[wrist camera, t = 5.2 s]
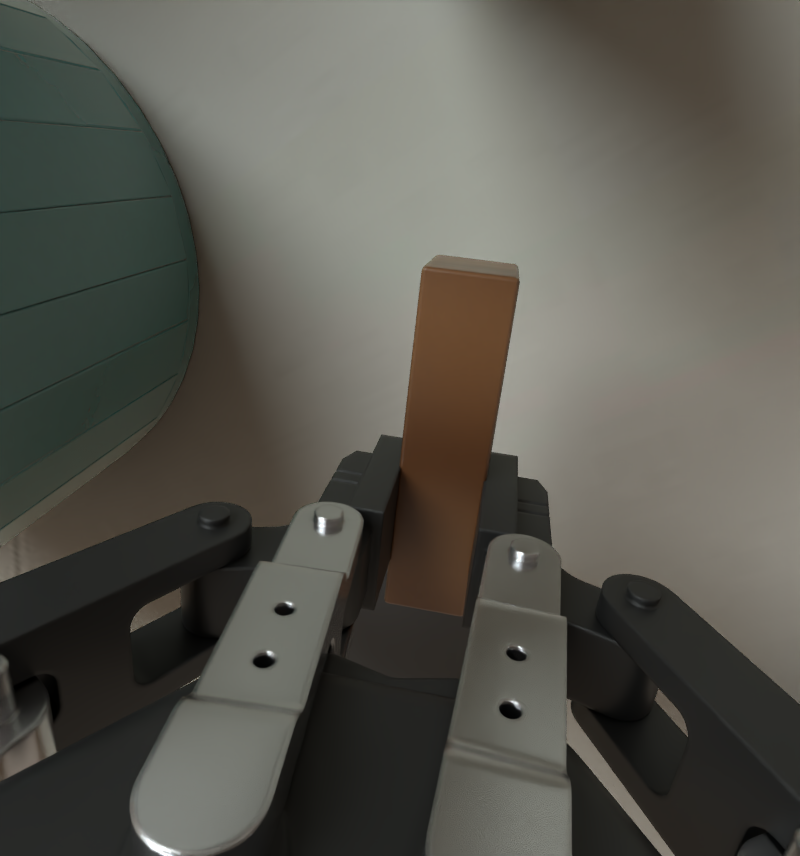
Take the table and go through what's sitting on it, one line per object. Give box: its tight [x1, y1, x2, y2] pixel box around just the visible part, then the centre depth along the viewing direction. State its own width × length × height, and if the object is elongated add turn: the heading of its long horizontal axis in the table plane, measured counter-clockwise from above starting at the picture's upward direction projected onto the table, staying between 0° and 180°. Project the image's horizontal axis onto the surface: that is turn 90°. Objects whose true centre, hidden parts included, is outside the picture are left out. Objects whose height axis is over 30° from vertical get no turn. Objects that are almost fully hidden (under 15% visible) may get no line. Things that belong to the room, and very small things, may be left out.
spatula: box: [348, 255, 520, 679], centre depth 15 cm, size 12×5×2 cm, turn 174°
